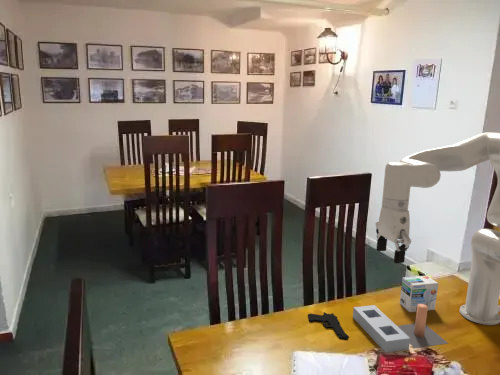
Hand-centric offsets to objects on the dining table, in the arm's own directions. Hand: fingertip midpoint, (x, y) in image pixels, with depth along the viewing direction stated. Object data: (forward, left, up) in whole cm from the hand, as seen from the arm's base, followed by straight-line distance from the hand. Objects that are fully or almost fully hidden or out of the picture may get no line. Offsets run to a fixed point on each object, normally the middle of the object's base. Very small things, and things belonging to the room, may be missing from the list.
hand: (389, 256), depth 121 cm
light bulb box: (-22, -12, -27) cm, 36 cm away
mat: (-11, +4, -26) cm, 29 cm away
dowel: (-11, +4, -26) cm, 28 cm away
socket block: (+1, 0, -26) cm, 26 cm away
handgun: (+16, -7, -27) cm, 32 cm away
